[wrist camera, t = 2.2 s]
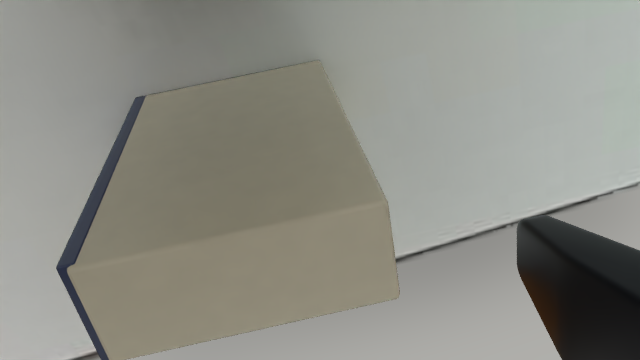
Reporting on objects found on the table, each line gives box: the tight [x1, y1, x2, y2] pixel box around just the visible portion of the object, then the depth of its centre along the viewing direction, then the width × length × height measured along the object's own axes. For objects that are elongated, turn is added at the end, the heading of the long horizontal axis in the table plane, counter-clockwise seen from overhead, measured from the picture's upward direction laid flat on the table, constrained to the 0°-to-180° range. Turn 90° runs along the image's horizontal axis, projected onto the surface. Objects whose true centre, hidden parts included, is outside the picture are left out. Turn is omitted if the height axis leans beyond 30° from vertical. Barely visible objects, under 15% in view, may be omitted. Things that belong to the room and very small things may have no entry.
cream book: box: [56, 60, 400, 360], centre depth 13 cm, size 5×2×8 cm, turn 101°
